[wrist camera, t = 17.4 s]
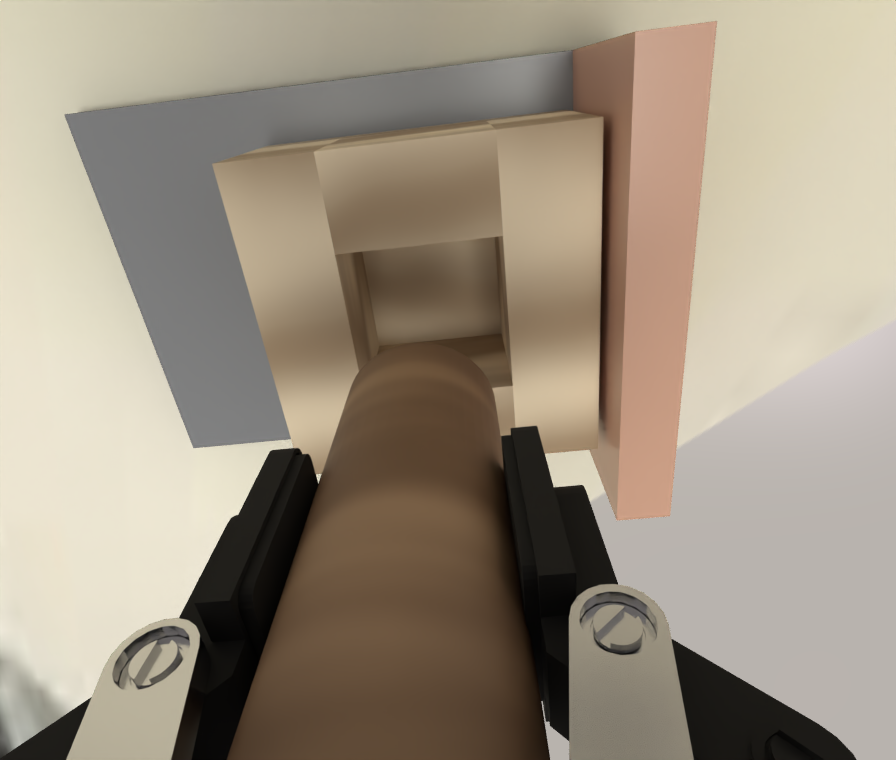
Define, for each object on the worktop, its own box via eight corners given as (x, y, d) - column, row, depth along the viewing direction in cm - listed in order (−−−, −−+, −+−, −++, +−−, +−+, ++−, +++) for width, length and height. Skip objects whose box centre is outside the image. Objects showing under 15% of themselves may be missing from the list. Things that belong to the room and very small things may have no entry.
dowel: (333, 351, 14) (-6, 1109, 4) (490, 335, 14) (621, 1088, 3) (362, 477, 16) (192, 1231, 5) (500, 464, 16) (607, 1219, 5)
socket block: (267, 145, 23) (212, 164, 17) (566, 109, 22) (603, 116, 17) (329, 401, 28) (301, 475, 23) (569, 378, 28) (598, 448, 22)
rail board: (82, 113, 23) (-117, 127, 15) (617, 45, 22) (716, 21, 14) (202, 435, 31) (112, 562, 22) (608, 397, 29) (669, 516, 21)
